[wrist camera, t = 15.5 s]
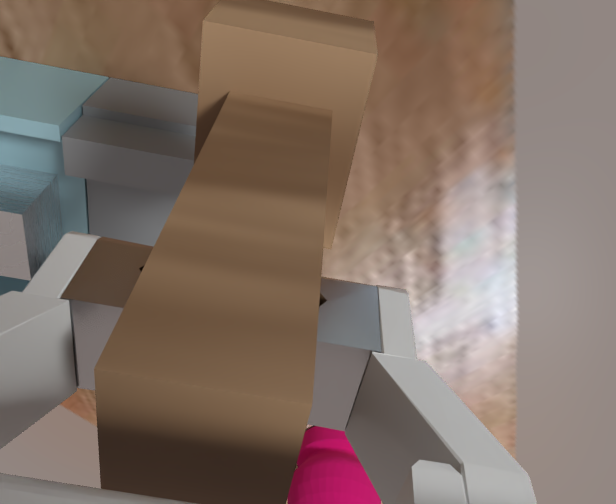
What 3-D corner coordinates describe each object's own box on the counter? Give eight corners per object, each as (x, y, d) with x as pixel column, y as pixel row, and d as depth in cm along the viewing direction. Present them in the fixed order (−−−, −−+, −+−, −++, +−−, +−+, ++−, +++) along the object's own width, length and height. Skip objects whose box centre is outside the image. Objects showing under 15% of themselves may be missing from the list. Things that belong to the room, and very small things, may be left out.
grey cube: (-21, 160, 30) (-66, 199, 27) (57, 174, 30) (21, 214, 27) (-9, 224, 32) (-50, 267, 29) (63, 236, 33) (31, 280, 29)
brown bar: (226, -8, 15) (10, 250, 6) (373, 21, 16) (411, 320, 6) (210, 173, 19) (55, 541, 9) (333, 196, 19) (314, 579, 9)
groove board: (110, 77, 31) (61, 125, 26) (329, 119, 32) (325, 175, 27) (115, 255, 38) (76, 321, 33) (295, 286, 39) (285, 357, 33)
